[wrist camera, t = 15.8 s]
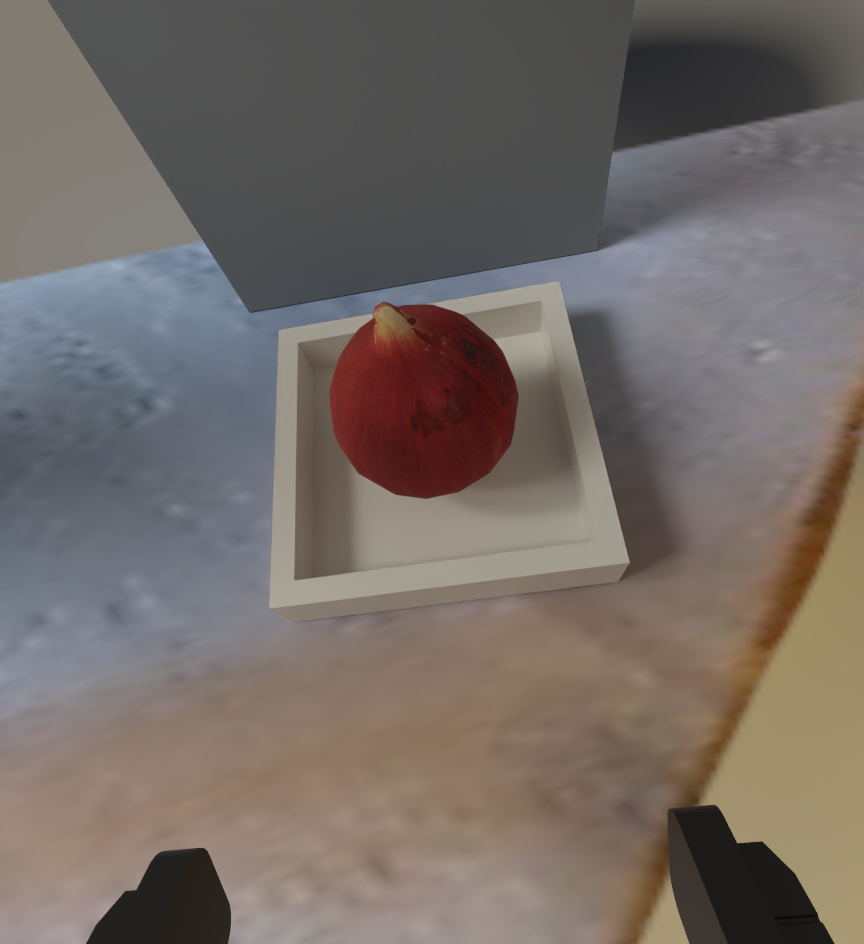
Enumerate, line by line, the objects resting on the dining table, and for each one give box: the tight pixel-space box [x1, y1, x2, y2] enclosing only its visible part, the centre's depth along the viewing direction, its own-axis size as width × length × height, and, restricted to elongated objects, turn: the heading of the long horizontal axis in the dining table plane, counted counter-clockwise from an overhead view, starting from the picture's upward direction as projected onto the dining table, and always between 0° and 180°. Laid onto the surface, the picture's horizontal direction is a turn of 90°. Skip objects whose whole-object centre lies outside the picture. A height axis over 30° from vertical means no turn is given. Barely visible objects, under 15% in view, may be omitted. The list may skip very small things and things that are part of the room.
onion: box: [329, 302, 519, 499], centre depth 18 cm, size 6×6×8 cm
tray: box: [269, 281, 630, 622], centre depth 21 cm, size 11×11×2 cm
